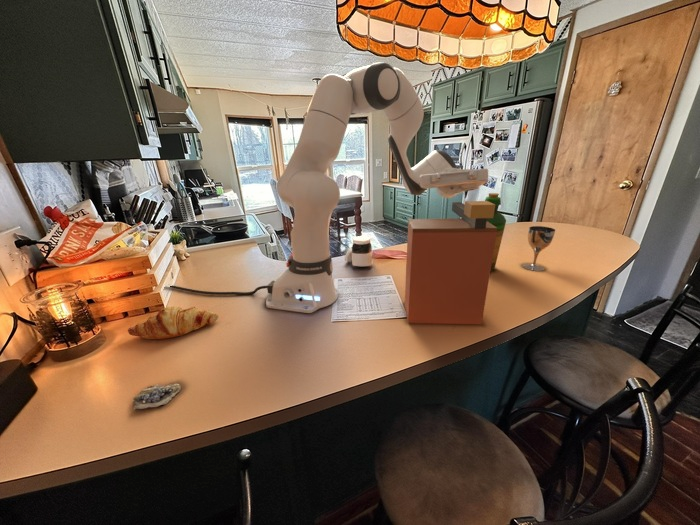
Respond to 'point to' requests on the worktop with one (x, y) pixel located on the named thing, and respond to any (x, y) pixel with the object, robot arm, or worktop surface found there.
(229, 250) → the worktop surface
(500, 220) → the bottle
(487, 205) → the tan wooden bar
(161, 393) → the crystal geode
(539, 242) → the silver goblet
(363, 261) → the spread jar
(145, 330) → the croissant
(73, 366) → the worktop surface
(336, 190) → the robot arm
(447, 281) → the stand
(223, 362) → the worktop surface
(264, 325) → the worktop surface
